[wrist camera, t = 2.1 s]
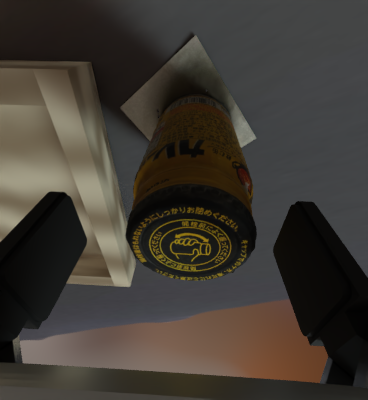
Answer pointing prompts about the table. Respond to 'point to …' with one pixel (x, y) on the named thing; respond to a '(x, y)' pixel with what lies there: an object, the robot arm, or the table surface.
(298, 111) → the table surface
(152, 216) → the condiment
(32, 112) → the tray
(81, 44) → the table surface
